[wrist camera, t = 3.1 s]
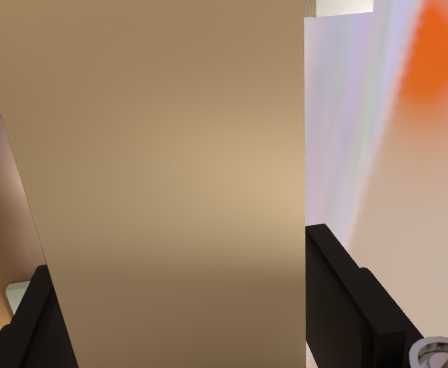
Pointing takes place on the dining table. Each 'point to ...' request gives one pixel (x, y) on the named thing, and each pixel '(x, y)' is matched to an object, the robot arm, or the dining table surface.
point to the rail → (164, 174)
